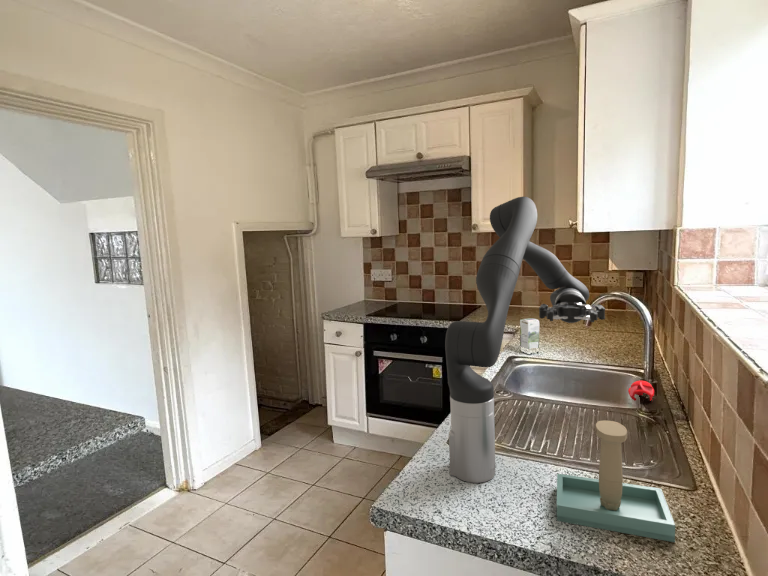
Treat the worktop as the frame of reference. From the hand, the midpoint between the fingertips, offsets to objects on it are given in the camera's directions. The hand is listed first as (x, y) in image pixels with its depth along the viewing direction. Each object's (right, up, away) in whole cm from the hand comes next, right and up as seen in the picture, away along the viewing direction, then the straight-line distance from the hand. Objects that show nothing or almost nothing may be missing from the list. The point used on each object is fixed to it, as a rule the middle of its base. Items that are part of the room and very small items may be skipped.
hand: (571, 317), depth 99 cm
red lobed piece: (+35, -27, +33) cm, 55 cm away
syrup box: (+20, -21, +89) cm, 93 cm away
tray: (-1, -34, -18) cm, 39 cm away
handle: (-1, -34, -18) cm, 38 cm away
